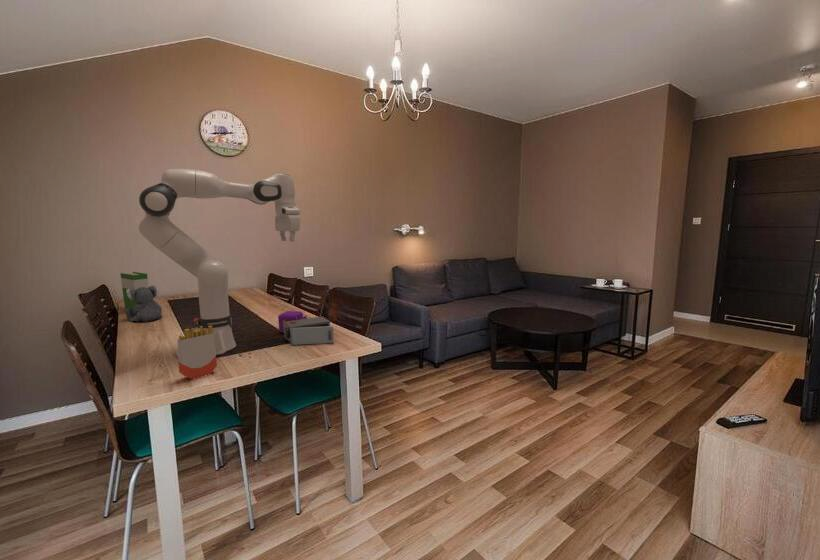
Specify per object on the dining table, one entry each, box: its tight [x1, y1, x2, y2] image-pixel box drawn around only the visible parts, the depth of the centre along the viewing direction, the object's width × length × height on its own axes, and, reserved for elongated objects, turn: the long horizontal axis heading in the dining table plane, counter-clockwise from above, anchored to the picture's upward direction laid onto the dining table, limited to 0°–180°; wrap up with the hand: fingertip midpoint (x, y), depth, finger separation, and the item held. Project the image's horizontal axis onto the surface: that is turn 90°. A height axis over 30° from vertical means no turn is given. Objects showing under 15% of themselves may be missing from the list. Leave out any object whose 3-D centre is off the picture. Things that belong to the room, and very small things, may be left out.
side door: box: [290, 325, 335, 346], centre depth 163 cm, size 18×2×8 cm, turn 98°
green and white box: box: [120, 271, 150, 311], centre depth 227 cm, size 18×7×24 cm, turn 57°
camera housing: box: [283, 316, 331, 344], centre depth 172 cm, size 19×11×9 cm, turn 123°
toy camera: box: [277, 309, 308, 334], centre depth 184 cm, size 11×14×10 cm
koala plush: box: [124, 284, 163, 323], centre depth 208 cm, size 17×18×20 cm
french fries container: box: [177, 326, 218, 380], centre depth 129 cm, size 5×11×18 cm, turn 140°
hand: (287, 241), depth 168 cm, fingers open, 8 cm apart
